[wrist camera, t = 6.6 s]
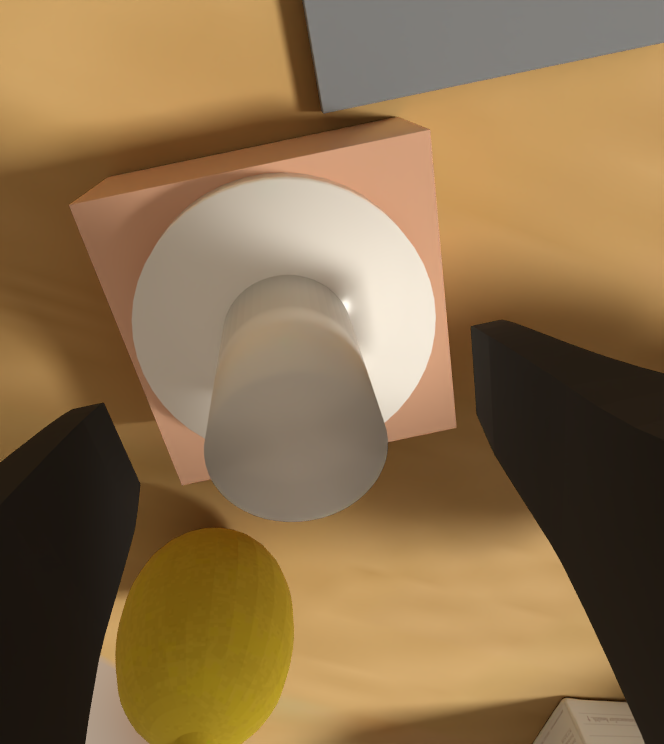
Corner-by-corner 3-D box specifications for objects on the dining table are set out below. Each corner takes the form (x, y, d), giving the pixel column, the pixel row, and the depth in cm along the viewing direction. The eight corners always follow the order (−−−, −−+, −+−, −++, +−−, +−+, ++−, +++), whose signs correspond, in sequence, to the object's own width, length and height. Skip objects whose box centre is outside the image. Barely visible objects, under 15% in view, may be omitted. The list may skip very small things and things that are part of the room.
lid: (422, 153, 13) (519, 209, 8) (427, 417, 16) (497, 570, 11) (103, 192, 12) (-2, 275, 7) (178, 452, 16) (138, 625, 11)
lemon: (112, 540, 21) (37, 771, 14) (216, 456, 20) (189, 666, 13) (219, 607, 24) (199, 834, 17) (318, 536, 22) (342, 751, 15)
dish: (397, 116, 15) (430, 129, 12) (426, 369, 19) (456, 427, 16) (108, 176, 15) (68, 205, 12) (195, 418, 19) (182, 485, 16)
